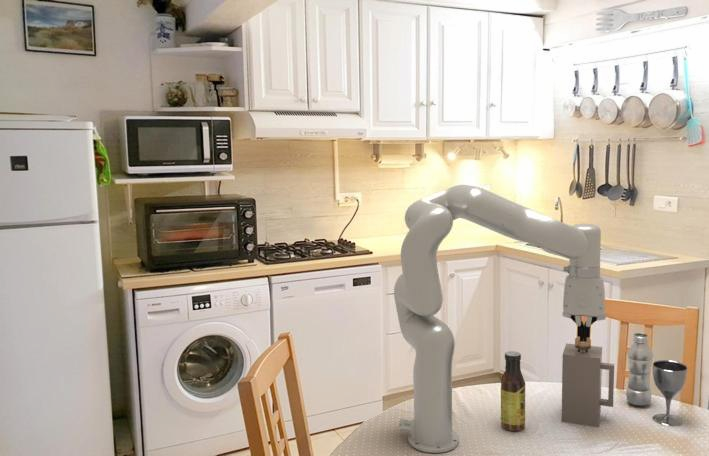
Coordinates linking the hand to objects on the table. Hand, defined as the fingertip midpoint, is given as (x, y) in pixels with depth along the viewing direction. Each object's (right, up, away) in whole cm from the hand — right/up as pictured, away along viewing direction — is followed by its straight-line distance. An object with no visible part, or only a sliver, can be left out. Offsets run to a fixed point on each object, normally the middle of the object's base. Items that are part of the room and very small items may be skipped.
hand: (583, 339), depth 164 cm
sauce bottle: (-19, -23, -1) cm, 30 cm away
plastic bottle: (+19, -20, +10) cm, 29 cm away
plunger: (0, -19, +3) cm, 19 cm away
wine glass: (+22, -21, 0) cm, 31 cm away
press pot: (+2, -21, +2) cm, 22 cm away
